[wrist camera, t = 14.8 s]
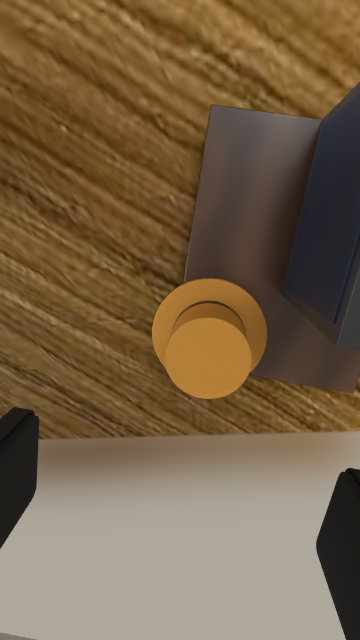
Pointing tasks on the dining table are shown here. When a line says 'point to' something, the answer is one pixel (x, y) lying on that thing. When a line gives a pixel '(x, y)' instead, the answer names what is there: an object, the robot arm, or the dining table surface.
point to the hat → (209, 336)
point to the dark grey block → (331, 231)
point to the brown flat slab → (263, 235)
